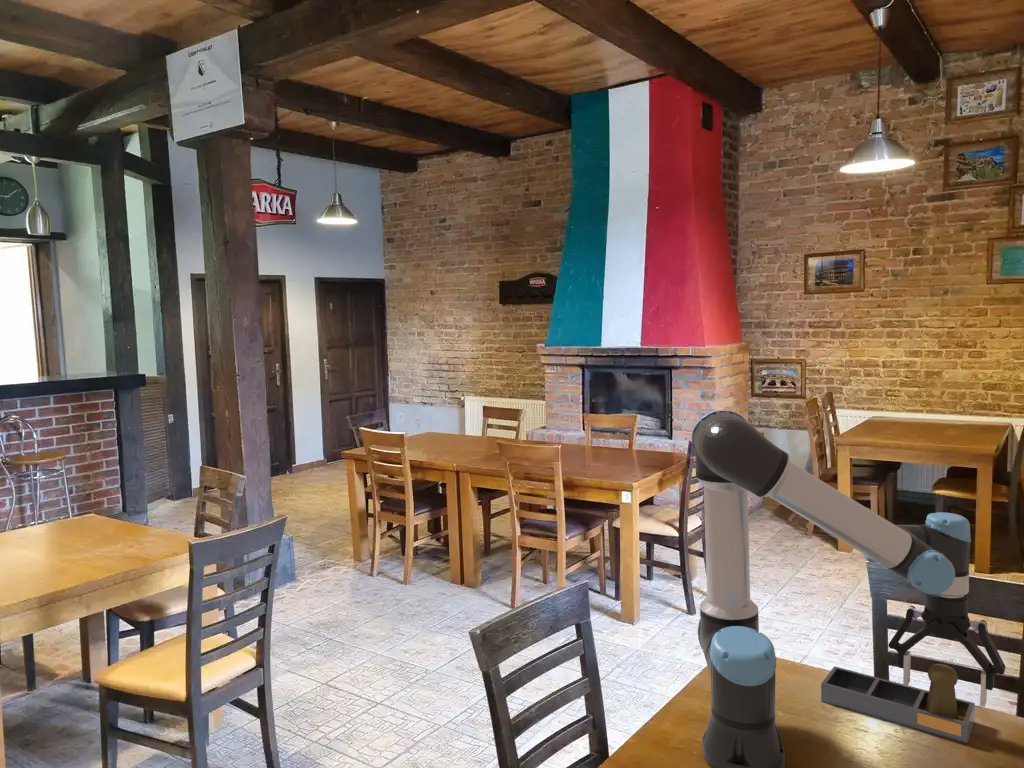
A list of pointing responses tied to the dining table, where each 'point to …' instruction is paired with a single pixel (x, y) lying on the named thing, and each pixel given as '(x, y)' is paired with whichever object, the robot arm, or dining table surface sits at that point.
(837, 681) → the rack
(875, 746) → the dining table surface
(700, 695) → the dining table surface
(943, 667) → the olive pawn-shaped piece
